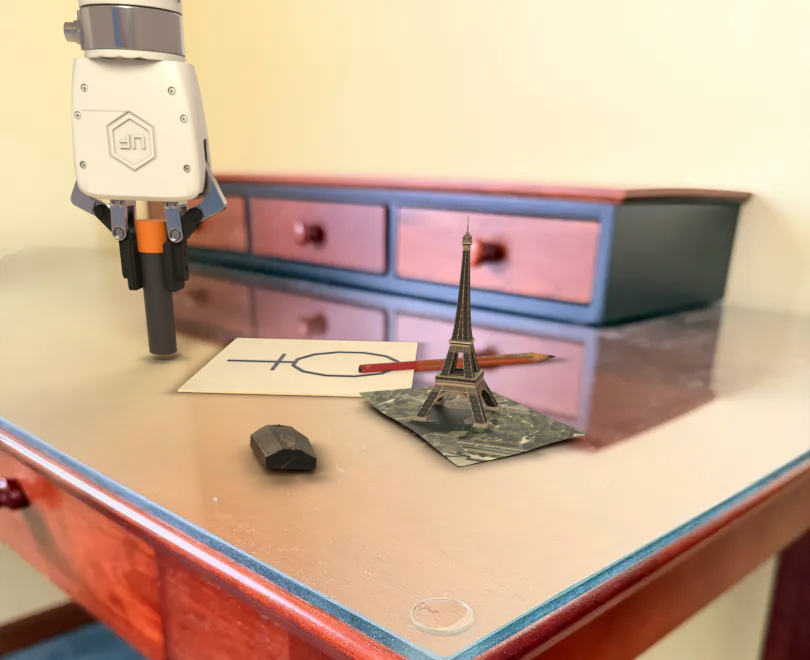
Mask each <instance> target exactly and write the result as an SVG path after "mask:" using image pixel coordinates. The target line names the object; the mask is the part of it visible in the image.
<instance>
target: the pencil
mask: <svg viewBox="0 0 810 660" xmlns="http://www.w3.org/2000/svg"><path fill="white" fill-rule="evenodd" d="M476 357H477V362H478V365H479V368H482V367H483V368H485V367H496V366H497V367H499V366H511V365H512V366H513V365H526V364H535V363H539V362H542V361H546V360H549V359H554V358H556V355H551V354H546V353H539V352H534V351H533V352H518V353H516V352H515V353H504V354H491V355H489V354H488V355H476ZM445 359H446V358H434V359H433V358H432V359H420V360H419V359H418V360H416V361H405V362H391V363H377V364H363V365H359V368H358V371H359V372H360V373H370V372H383V371H386V370H392V371H398V370H412V369H414V373H415V372H416V373H417V372H431V371H432V372H433V371H441V370H442V368H443V365H444V362H445ZM456 367H458V368H464V366H463V356H461V357H458V361H457V366H456Z"/></svg>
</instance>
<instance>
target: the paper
mask: <svg viewBox="0 0 810 660" xmlns="http://www.w3.org/2000/svg"><path fill="white" fill-rule="evenodd" d="M418 345H419V342H417V341H416V342H415V341H381V340H379V341H378V340H377V341H376V340H339V339H338V340H337V339H335V340H334V339H302V338H301V339H300V338H299V339H298V338H297V339H295V338H261V337H260V338H257V337H236V338H235V339H234V340H232V342H230V343H229V344H228V345H226V347H225V348H223V349H222V350H221V351H220V352H219V353H218V354H216V355H215V356H214V357H213V358H212V359H211V360H209V362H207V363H206V364H205V365H204V366H202V367H201V368H200V369H199V370H198V371H197V372H196V373H195V374H194V375H192V376H191V377H190V378H189V379H188V380H187V381H186V382H185V383H184V384H182V385H181V386H180V387H179V388H178V389H177V393H198V394H199V393H202V394H203V393H204V394H205V393H206V394H237V395H241V394H242V395H272V396H273V395H275V396H277V395H278V396H312V397H313V396H314V397H349V398H351V397H352V398H363V397H362V396H361V395H360V394H359V393H362V392H371V391H382V390H395V389H407V388H413V382H414V376H415V372H414V369H412V370H398V371H392V370H386V371H383V372H370V373H360V372H359V371H358V368H359V365H363V364H377V363H391V362H405V361H417V352H418V347H419V346H418Z"/></svg>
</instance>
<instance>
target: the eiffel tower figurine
mask: <svg viewBox="0 0 810 660" xmlns="http://www.w3.org/2000/svg"><path fill="white" fill-rule="evenodd" d="M469 223H470V216H469V215H467V224H466V225H467V226H466V232H465V234H464V235H463V236H462V241H461V244H462V255H461V265H460V266H461V267H460V276H459V284H458V293H457V302H456V310H455V317H454V323H453V329H452V333H451V337H450V339H449V340H448V341H447V342H448V344H449V346H448V350H447V353H446V356H445V358H444V359H445V362H444V365H443V368H442V370H439V371H438V372H437V373H436V374H435V376H434V385H430V386H420V387H412V388H407V389H395V390H382V391H371V392H362V393H359V394H360V395H361V396H362V397H361V398H363V399H364V400H365V401H367V402H368V403H369V404H370V405H371V406H373V408H375V409H377V410H378V411H379V412H380V413H382V414H383V415H385V416H387V417H389V418H391V419H393V420H395V421H396V422H399V423H400V424H401V427H407V428H409V429H410V430H412V431H413V432H414V433H416V434H417V435H418V436H420V437H421V438H422V439H424V440H425V441H426V442H428V444H430V445H431V446H432V447H433V448H434V449H436V450H437V451H438V452H439V453H440V454H441V455H442V456H444V457H445V458H447V460H449V461H450V462H452V464H453V465H455V466H456V467H458V468H460V467H465V466H469V465H474V464H479V463H482V462H487V461H491V460H496V459H500V458H504V457H508V456H513V455H517V454H521V453H524V452H529V451H531V450H534V449H538V448H541V447H543V446H547V445H549V444H552V443H557V442H560V441H564V440H569V439H573V438H578V437H583V436H587V435H588V434H587V433H586V432H583V431H581V430H579V429H577V428H575V427H573V426H570V425H568V424H566V423H563V422H561V421H558V420H556V419H554V418H552V417H550V416H547V415H545V414H543V413H541V412H539V411H537V410H535V409H533V408H530V407H529V406H526V405H524V404H522V403H520V402H518V401H516V400H513V399H511V398H508V397H506V396H504V395H502V394H500V393H497V392H495V391H492V390H491V389H490V387H489V385H488V383H487V381H486V380H485V378H484V377H485V369H480V368H481V367H479V365H478V362H477V357H476V356H477V353H476V348H475V343H474V342H475V341H476V338H475V337H474V336H473V329H472V310H471V308H472V307H471V249H472V244H473V243H474V242H473V236H472V235H471V234H470V231H469V226H470V225H469ZM459 354H462V357H463V366H464V368H458V367H456V366H457V361H458V358H459Z"/></svg>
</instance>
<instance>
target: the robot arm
mask: <svg viewBox="0 0 810 660" xmlns="http://www.w3.org/2000/svg"><path fill="white" fill-rule="evenodd" d="M77 1H78V8H79V9H78V10H76V19H73V21H65V22H64V23H63V35H64V38H65V40H66V41H67V42H68V43H76V44H77V45H80V50H81V51H83V55H84V57H75V58H73V64H72V73H71V75H72V76H71V137H72V153H73V154H72V155H73V166H74V173H75V182H74V185H73V188H72V191H71V195H70V202H71V204H72V205H73V206H75V207H77V208H78V209H81V210H82V211H84V212H86V213H88V214H89V215H92V216H95V218H96V219H98V221H100V223H102V224H103V225H104V227H106V229H107V230H108V231H110V232H111V235H112V237H113V239H115V240H117V241H118V247H119V255H120V256H119V257H120V267H121V275H122V277H123V279H124V280H125V279H126V280H127V288H128V290H129V291H138V290H141V289H143V283H142V273H141V263H140V253H139V251H138V246H137V236H136V226H135V220H137V219H138V218H137V202H162V203H163V210H164V217H165V220H166V224H167V231H168V233H167V242H164V244H163V257H164V268H165V279H166V289H167V290H169V292H172V293H177V292H179V291H181V290H183V289H185V287H186V282H187V281H188V280H189V279H190V264H189V253H188V251H189V250H188V240H189V239H190V238H191V237H192V235H193V233H194V232H195V231H197V229H198V228H199V227H200V226H201V225H202V223H203V222H204V221H206V220H208V219H210V218H212V217H214V216H215V215H218V214H221V213H222V212H224V211H225V210H226V209H227V208H228V201H227V199H226V197H225V195H224V193H223V192H222V189H221V187H220V185H219V183H218V181H217V179H216V177H215V175H214V173H213V165H212V156H211V148H210V141H209V134H208V126H207V120H206V114H205V109H204V103H203V97H202V92H201V88H200V84H199V80H198V75H197V72H196V68H195V65H194V64H192V63H190V62H187V58H186V43H185V30H184V18H183V3H182V0H77ZM200 199H203V200H202V201H201V202H200V203H198V204H197V205H194V206H193V207H191V208H189V204H188V202H189V201H192V200H200ZM103 200H109V203H107V202H105V201H103Z"/></svg>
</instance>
